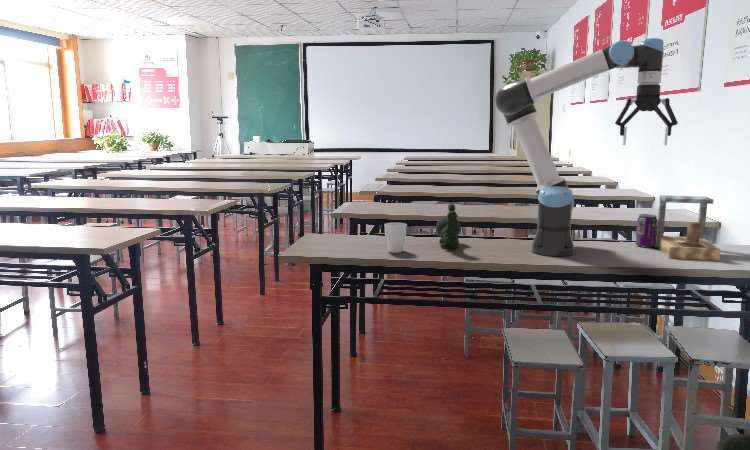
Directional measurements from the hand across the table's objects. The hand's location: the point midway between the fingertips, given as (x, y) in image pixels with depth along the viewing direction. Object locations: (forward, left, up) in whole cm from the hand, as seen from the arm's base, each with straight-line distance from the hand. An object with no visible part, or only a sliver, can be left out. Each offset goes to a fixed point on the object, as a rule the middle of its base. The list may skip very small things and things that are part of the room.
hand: (644, 145), depth 212 cm
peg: (+17, -5, -39) cm, 43 cm away
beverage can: (+5, +10, -39) cm, 40 cm away
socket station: (+17, +1, -39) cm, 42 cm away
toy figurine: (-68, -9, -39) cm, 79 cm away
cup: (-86, -23, -39) cm, 97 cm away
